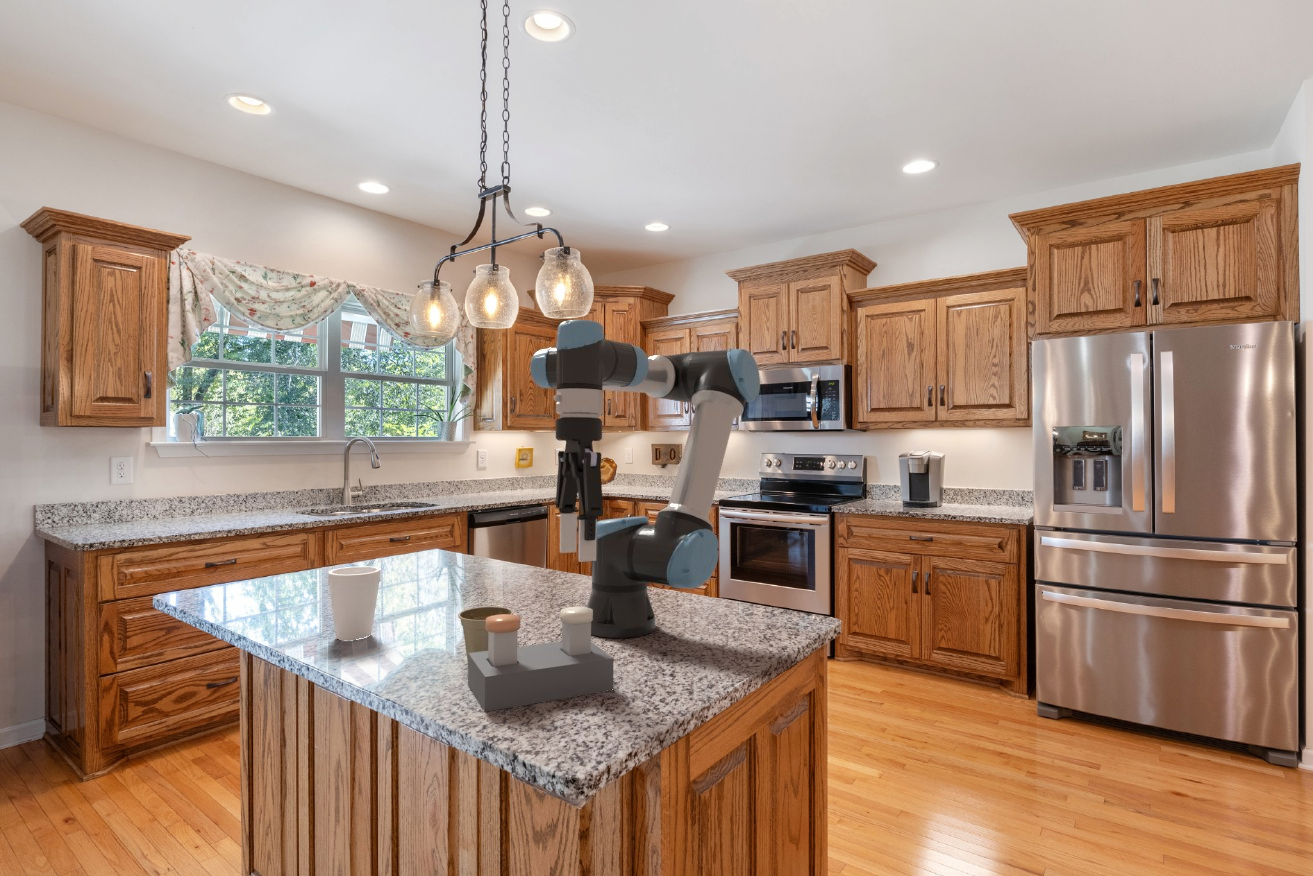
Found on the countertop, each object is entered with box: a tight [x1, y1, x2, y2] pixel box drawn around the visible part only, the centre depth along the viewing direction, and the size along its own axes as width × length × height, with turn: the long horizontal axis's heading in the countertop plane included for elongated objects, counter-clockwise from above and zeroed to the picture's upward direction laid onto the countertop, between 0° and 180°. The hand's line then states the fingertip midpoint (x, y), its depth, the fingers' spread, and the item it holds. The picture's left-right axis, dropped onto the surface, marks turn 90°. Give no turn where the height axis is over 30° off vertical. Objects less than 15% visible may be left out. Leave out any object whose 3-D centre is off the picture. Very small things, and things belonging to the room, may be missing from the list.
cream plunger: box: [560, 606, 593, 656], centre depth 109 cm, size 5×5×7 cm
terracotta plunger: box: [486, 614, 521, 667], centre depth 104 cm, size 5×5×7 cm
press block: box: [467, 640, 615, 713], centre depth 106 cm, size 20×12×5 cm, turn 117°
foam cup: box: [327, 565, 382, 641], centre depth 133 cm, size 10×9×13 cm
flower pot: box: [457, 606, 514, 663], centre depth 118 cm, size 9×9×9 cm
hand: (577, 556), depth 109 cm, fingers open, 8 cm apart
